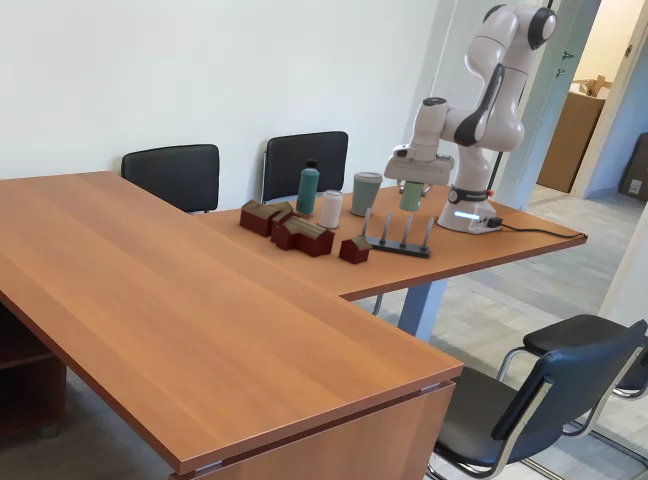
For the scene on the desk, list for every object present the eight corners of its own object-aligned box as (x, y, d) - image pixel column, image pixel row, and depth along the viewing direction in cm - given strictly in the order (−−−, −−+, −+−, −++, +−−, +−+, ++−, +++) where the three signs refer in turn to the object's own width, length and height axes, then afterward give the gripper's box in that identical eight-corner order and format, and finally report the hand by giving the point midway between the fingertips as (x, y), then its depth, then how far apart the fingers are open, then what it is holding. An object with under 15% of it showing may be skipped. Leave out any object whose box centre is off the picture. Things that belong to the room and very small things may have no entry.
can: (337, 229, 246) (344, 195, 240) (318, 227, 247) (324, 193, 240) (336, 224, 251) (343, 190, 245) (318, 222, 252) (324, 188, 246)
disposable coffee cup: (342, 213, 262) (350, 173, 255) (351, 206, 271) (359, 167, 263) (370, 219, 258) (379, 178, 250) (378, 212, 266) (387, 172, 258)
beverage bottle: (314, 215, 259) (325, 160, 248) (308, 219, 254) (318, 163, 243) (298, 211, 261) (307, 156, 251) (291, 215, 256) (300, 160, 246)
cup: (410, 205, 238) (416, 178, 233) (421, 211, 233) (428, 183, 228) (395, 206, 236) (401, 179, 231) (406, 212, 231) (413, 184, 226)
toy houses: (233, 226, 242) (236, 197, 237) (276, 218, 253) (281, 190, 248) (331, 271, 211) (338, 239, 206) (376, 260, 222) (383, 229, 217)
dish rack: (428, 251, 232) (438, 215, 226) (427, 258, 226) (437, 222, 220) (357, 238, 239) (365, 204, 233) (354, 245, 233) (362, 210, 227)
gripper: (456, 154, 224) (445, 197, 232) (390, 146, 230) (381, 188, 237) (456, 158, 219) (444, 202, 227) (388, 150, 225) (379, 193, 232)
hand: (411, 195), depth 232 cm, fingers closed on cup, 6 cm apart
